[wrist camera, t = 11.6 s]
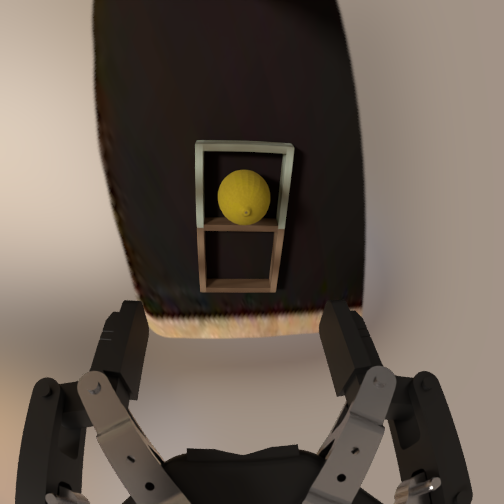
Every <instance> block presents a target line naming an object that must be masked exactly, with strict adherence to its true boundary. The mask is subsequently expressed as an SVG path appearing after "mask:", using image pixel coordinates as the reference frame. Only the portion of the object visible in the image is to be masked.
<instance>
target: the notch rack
mask: <svg viewBox="0 0 504 504" xmlns="http://www.w3.org/2000/svg"><path fill="white" fill-rule="evenodd" d="M204 151H242V152H266V153H283V158H282V168H281V178H280V187H279V197H278V206H277V215H276V218H262V219H261V220H259V221H258V222H256V223H254V224H251V225H238V224H235V223H233V222H231V221H230V220H228V219H227V218H225V217H205V211H204ZM293 156H294V146H293V145H292V144H291V143H277V142H260V141H234V140H197V142H196V143H195V177H196V217H197V241H198V261H199V277H200V292H276V287H277V280H278V273H279V266H280V259H281V252H282V245H283V237H284V230H285V222H286V214H287V206H288V198H289V190H290V182H291V174H292V165H293ZM205 231H263V232H275V233H274V241H273V250H272V258H271V267H270V275H269V279H207V275H206V250H205Z"/></svg>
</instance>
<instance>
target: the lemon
mask: <svg viewBox="0 0 504 504" xmlns="http://www.w3.org/2000/svg"><path fill="white" fill-rule="evenodd" d="M218 203H219V206H220V209H221V211H222V213H223V214H224V216H225V217H226V218H227V219H228V220H230V221H231V222H233V223H235V224H238V225H251V224H254V223H256V222H258V221H259V220H261V219H262V218H263V217H264V215H265V214H266V212H267V210H268V208H269V204H270V191H269V188H268V185H267V183H266V182H265V180H264V179H263V178H262V177H261V176H260V175H259V174H257V173H255V172H253V171H250V170H238V171H234V172H232V173H231V174H229V175H228V176H227V177H226V178H225V179H224V180H223V181H222V183H221V185H220V188H219V191H218Z"/></svg>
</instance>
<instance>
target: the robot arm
mask: <svg viewBox="0 0 504 504" xmlns="http://www.w3.org/2000/svg"><path fill="white" fill-rule="evenodd" d="M319 334H320V338H321V342H322V345H323V349H324V352H325V355H326V359H327V363H328V366H329V370H330V373H331V377H332V380H333V384H334V388H335V392H336V395H337V397H338V396H343V395H345V397H346V403H345V404H344V406H343V409H342V410H341V412H340V414H339V417H338V418H337V420H336V422H335V424H334V426H333V428H332V430H331V432H330V434H329V435H328V437H327V438H326V440H325V441H324V443H323V444H322V446H321V447H320V449H319V451H318V452H317V454H314V453H311V452H309V451H304V450H299V449H298V444H297V445H288V446H279V447H270V448H267V449H264V450H260V451H257V452H254V453H250V454H247V455H238V454H234V453H228V452H224V451H220V450H215V449H190V448H187V453H186V454H182V455H178V456H175V457H173V458H171V459H169V460H167V461H164V460H163V458H162V457H161V456H160V454H159V453H158V452H157V450H156V449H155V448H154V446H153V445H152V444H151V442H150V441H149V440H148V438H147V437H146V435H145V434H144V432H143V431H142V429H141V428H140V426H139V425H138V423H137V422H136V420H135V418H134V417H133V415H132V414H131V412H130V410H129V409H128V405H129V399H130V400H137V399H138V392H139V386H140V380H141V374H142V367H143V363H144V356H145V352H146V347H147V342H148V337H149V326H148V322H147V319H146V315H145V312H144V308H143V305H142V302H141V301H126V300H125V301H123V303H122V306H121V309H120V312H113V313H112V314H111V315H110V316H109V318H108V319H107V320H106V322H105V325H104V328H103V332H102V334H101V337H100V340H99V343H98V346H97V349H96V353H95V356H94V359H93V362H92V366H91V369H90V371H89V372H87V373H85V374H84V375H83V376H82V377H81V378H80V379H79V381H76V382H72V383H64V384H58V383H57V381H56V380H54V379H52V378H43V379H41V380H39V381H38V382H37V383H36V384H35V386H34V388H33V392H32V396H31V399H30V403H29V408H28V412H27V417H26V421H25V426H24V431H23V436H22V442H21V448H20V455H19V462H18V470H17V481H16V495H15V504H90V502H89V501H88V499H87V498H86V497H85V496H83V495H82V494H81V488H82V468H83V456H84V445H85V436H86V428H87V427H91V426H94V428H95V430H96V432H97V436H96V437H97V441H98V443H99V445H100V446H101V448H102V450H103V452H104V454H105V456H106V457H107V459H108V461H109V463H110V464H111V466H112V468H113V469H114V471H115V472H116V474H117V476H118V477H119V479H120V480H121V482H122V483H123V485H124V486H125V488H126V489H127V490H128V492H129V494H130V495H131V496H130V497H129V498H128V499H126V500H125V501H124V502H123V503H122V504H383V503H381V502H380V501H378V500H377V499H376V498H374V497H373V496H372V495H370V494H369V493H367V492H366V491H364V490H363V489H362V488H361V487H360V486H361V484H362V482H363V480H364V478H365V476H366V474H367V472H368V469H369V467H370V465H371V463H372V461H373V458H374V456H375V454H376V451H377V449H378V447H379V444H380V442H381V439H382V437H383V434H384V431H385V427H384V426H383V422H384V419H387V420H388V423H389V427H390V431H391V435H392V439H393V443H394V448H395V452H396V457H397V461H398V465H399V471H400V476H401V481H402V483H401V484H400V485H399V486H398V487H397V489H396V492H395V496H394V498H395V503H394V504H471V501H472V497H473V493H472V488H471V483H470V479H469V474H468V471H467V466H466V462H465V458H464V455H463V452H462V448H461V444H460V441H459V438H458V435H457V431H456V429H455V425H454V422H453V419H452V416H451V413H450V410H449V407H448V404H447V402H446V399H445V396H444V394H443V391H442V389H441V386H440V383H439V381H438V379H437V378H436V376H435V375H433V374H432V373H430V372H427V371H422V372H419V373H418V374H417V375H416V376H415V377H414V378H410V377H401V376H396V375H394V373H393V372H392V371H391V370H390V369H388V368H386V367H384V366H383V365H382V363H381V361H380V358H379V356H378V353H377V351H376V348H375V346H374V343H373V341H372V339H371V337H370V334H369V332H368V330H367V327H366V325H365V322H364V321H363V318H362V317H361V316H360V315H359V314H358V313H357V312H356V311H350V310H349V308H348V305H347V303H346V301H345V300H329V301H327V302H326V305H325V308H324V312H323V315H322V318H321V321H320V324H319Z"/></svg>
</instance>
